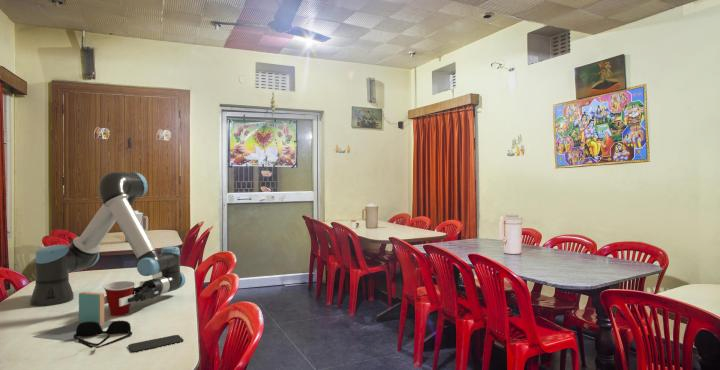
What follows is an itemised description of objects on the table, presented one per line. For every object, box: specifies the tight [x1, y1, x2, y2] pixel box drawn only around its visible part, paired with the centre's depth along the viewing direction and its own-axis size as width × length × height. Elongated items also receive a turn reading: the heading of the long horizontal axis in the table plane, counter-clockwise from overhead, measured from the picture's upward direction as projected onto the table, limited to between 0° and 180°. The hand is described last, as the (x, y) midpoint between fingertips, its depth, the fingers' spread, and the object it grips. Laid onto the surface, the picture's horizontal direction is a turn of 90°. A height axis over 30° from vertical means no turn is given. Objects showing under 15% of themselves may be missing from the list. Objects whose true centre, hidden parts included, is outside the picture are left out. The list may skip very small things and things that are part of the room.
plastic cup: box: [102, 280, 137, 317], centre depth 164 cm, size 11×11×12 cm
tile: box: [78, 291, 105, 326], centre depth 151 cm, size 9×2×11 cm, turn 75°
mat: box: [32, 319, 115, 343], centre depth 146 cm, size 16×20×1 cm
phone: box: [127, 334, 184, 353], centre depth 134 cm, size 7×1×15 cm
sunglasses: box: [74, 320, 133, 349], centre depth 134 cm, size 17×14×5 cm
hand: (110, 301), depth 159 cm, fingers closed on plastic cup, 8 cm apart
